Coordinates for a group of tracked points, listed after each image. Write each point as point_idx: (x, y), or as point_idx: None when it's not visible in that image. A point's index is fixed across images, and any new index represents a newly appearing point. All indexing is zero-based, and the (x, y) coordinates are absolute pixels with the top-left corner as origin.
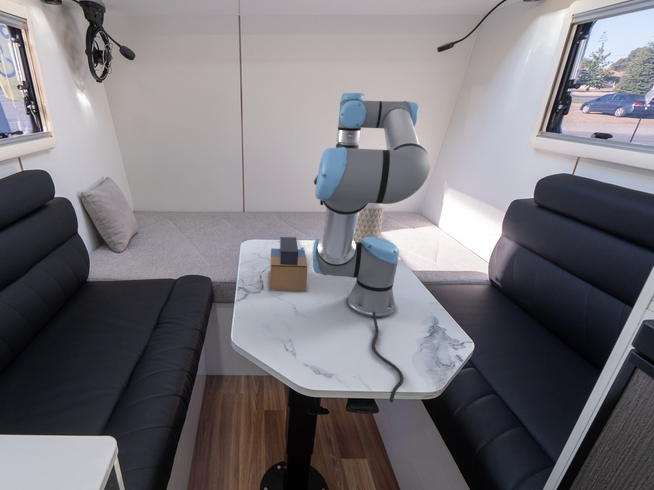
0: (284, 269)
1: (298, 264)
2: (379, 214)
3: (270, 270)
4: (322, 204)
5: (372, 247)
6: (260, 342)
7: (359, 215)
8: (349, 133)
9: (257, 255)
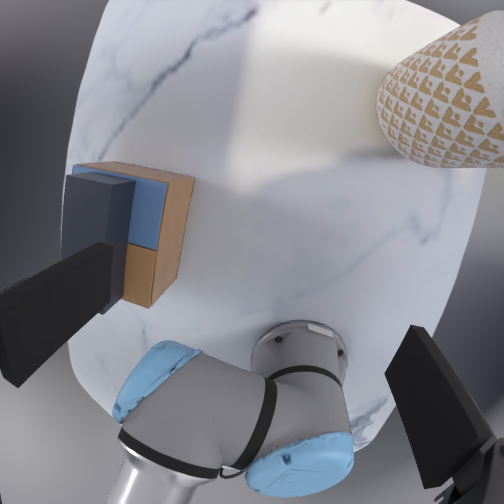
0: None
1: (126, 294)
2: None
3: None
4: (103, 302)
5: (257, 492)
6: (97, 385)
7: (463, 116)
8: None
9: (109, 60)
